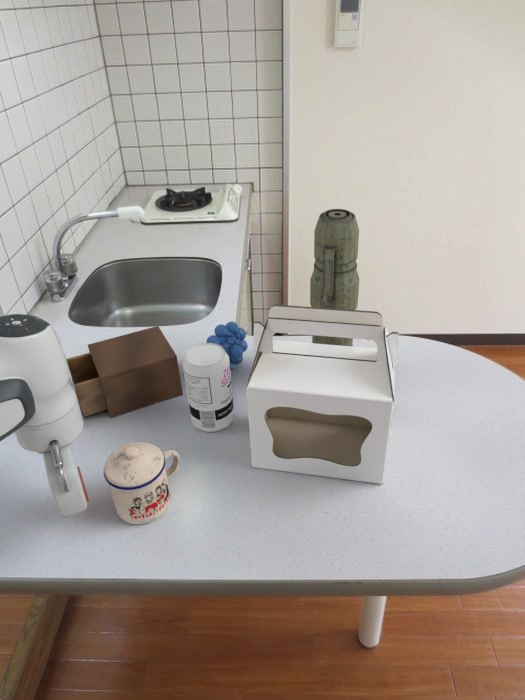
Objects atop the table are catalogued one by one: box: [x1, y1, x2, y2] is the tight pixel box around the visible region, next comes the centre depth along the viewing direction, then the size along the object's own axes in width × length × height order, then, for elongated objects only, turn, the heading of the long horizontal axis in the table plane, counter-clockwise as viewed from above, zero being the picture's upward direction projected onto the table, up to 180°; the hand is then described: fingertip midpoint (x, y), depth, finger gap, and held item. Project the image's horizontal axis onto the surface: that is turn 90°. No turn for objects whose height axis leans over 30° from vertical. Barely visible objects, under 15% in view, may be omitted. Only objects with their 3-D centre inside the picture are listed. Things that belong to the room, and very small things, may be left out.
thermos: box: [309, 208, 360, 347], centre depth 98 cm, size 9×12×35 cm
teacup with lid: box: [103, 441, 181, 525], centre depth 81 cm, size 12×9×12 cm
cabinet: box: [87, 325, 184, 418], centre depth 105 cm, size 15×13×10 cm
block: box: [77, 465, 90, 503], centre depth 80 cm, size 4×4×4 cm
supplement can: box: [182, 342, 236, 433], centre depth 95 cm, size 8×8×15 cm
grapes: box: [205, 320, 248, 372], centre depth 108 cm, size 12×7×12 cm, turn 140°
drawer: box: [66, 352, 108, 418], centre depth 102 cm, size 18×11×8 cm, turn 116°
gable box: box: [245, 304, 399, 485], centre depth 84 cm, size 22×13×28 cm, turn 78°
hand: (70, 489), depth 80 cm, fingers closed on block, 4 cm apart
